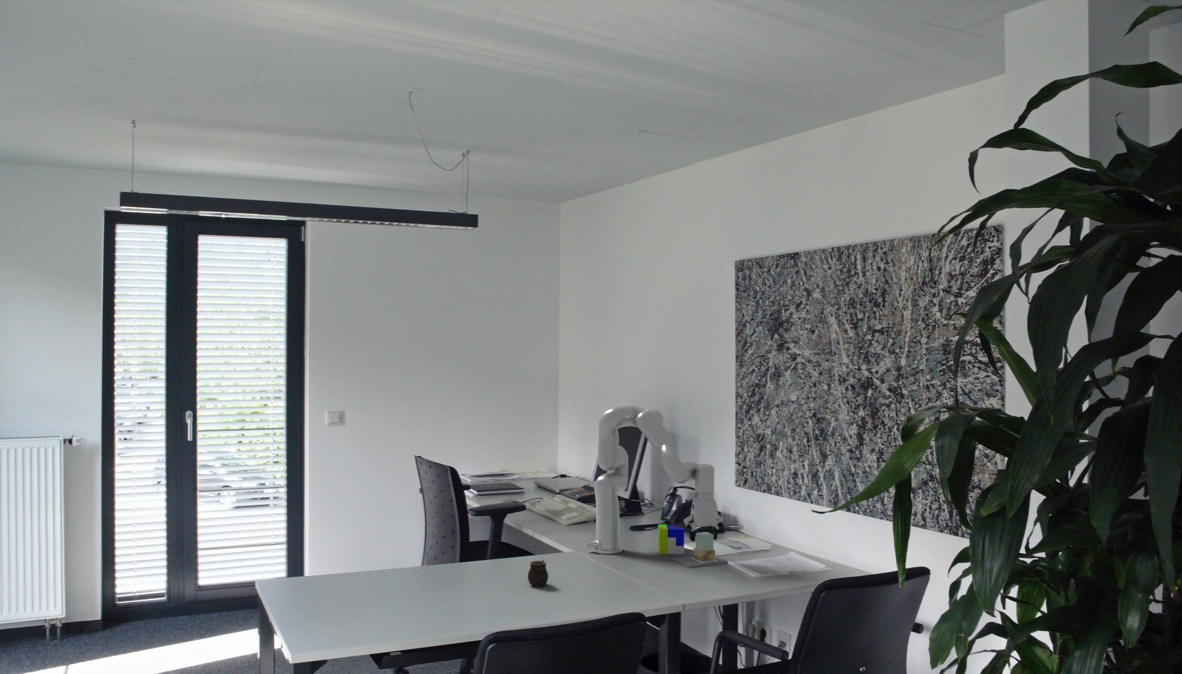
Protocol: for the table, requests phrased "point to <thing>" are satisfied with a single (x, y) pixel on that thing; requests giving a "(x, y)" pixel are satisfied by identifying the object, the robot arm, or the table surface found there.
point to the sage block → (704, 541)
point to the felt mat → (699, 562)
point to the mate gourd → (538, 573)
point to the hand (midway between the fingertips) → (703, 540)
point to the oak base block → (704, 555)
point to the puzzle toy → (670, 539)
